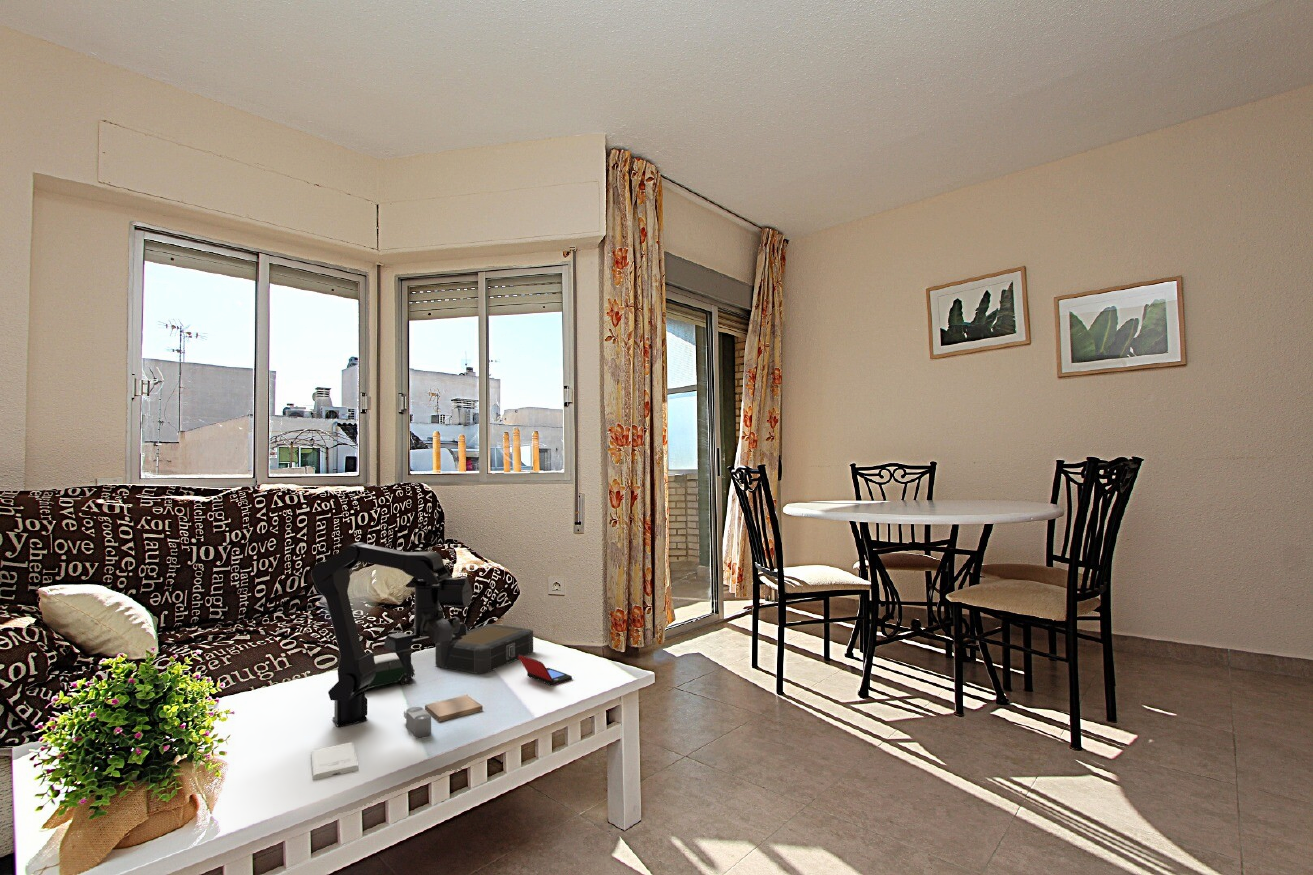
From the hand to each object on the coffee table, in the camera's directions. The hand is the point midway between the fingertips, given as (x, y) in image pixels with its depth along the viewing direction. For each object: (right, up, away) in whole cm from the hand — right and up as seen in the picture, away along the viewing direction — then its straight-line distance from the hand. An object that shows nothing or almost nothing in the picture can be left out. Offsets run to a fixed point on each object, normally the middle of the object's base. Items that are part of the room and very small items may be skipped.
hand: (427, 671), depth 157 cm
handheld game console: (+23, -14, +30) cm, 40 cm away
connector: (-1, -12, -3) cm, 13 cm away
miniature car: (-23, -14, +27) cm, 38 cm away
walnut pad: (+4, -13, +8) cm, 15 cm away
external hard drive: (-12, -13, -20) cm, 27 cm away
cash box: (+1, -15, +50) cm, 52 cm away
